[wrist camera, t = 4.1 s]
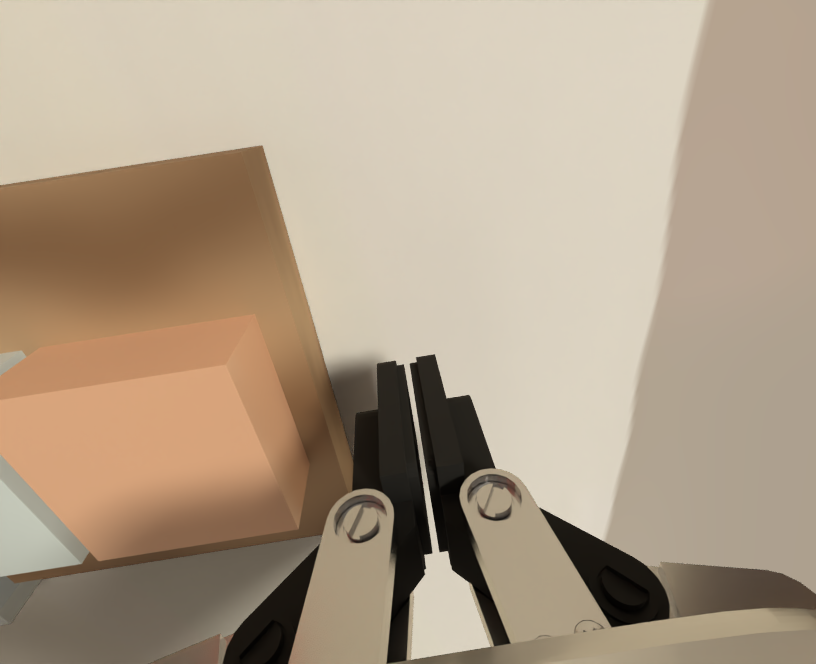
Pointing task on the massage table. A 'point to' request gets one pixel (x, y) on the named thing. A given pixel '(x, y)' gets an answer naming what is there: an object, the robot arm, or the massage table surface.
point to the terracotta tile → (157, 437)
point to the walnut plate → (171, 290)
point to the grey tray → (14, 597)
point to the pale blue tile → (30, 520)
